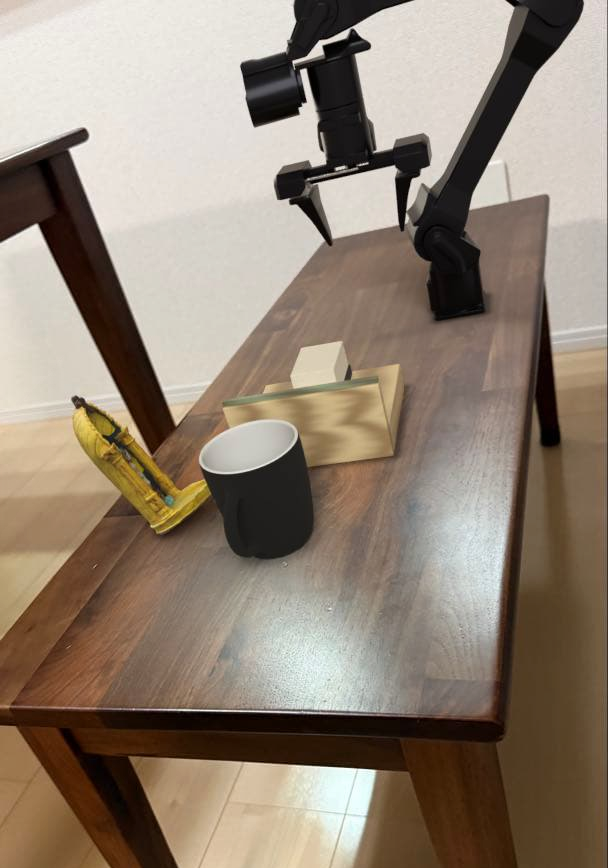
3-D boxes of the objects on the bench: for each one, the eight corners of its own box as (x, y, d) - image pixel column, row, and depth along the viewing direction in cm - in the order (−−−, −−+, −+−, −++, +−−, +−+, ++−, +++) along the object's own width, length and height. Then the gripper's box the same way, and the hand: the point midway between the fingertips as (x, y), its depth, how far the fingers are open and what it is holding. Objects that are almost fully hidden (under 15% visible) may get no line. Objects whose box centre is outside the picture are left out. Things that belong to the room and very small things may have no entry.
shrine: (106, 552, 84) (43, 420, 75) (138, 505, 90) (83, 378, 81) (210, 546, 80) (155, 406, 71) (236, 497, 86) (188, 363, 78)
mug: (252, 511, 83) (221, 421, 77) (337, 509, 79) (311, 415, 74) (204, 591, 74) (165, 496, 68) (298, 592, 71) (265, 492, 65)
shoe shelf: (404, 387, 97) (390, 316, 92) (393, 456, 85) (376, 379, 80) (272, 407, 101) (252, 341, 96) (245, 475, 89) (220, 403, 84)
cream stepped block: (352, 373, 96) (344, 339, 94) (340, 417, 88) (331, 381, 85) (308, 380, 97) (299, 347, 95) (293, 424, 89) (282, 389, 87)
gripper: (423, 72, 101) (443, 204, 110) (276, 109, 106) (306, 233, 115) (417, 88, 92) (439, 230, 101) (257, 128, 98) (291, 260, 106)
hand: (366, 238), depth 106 cm, fingers open, 9 cm apart
